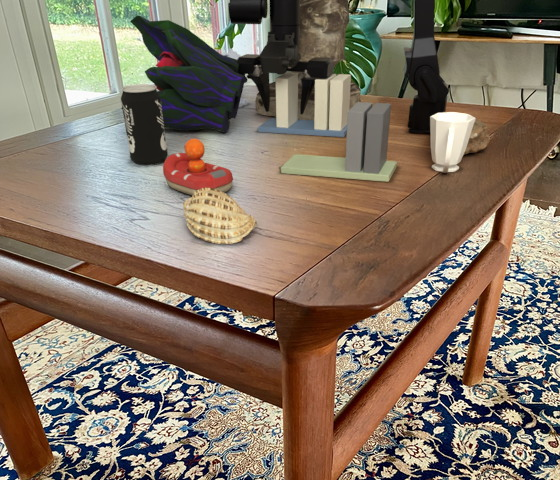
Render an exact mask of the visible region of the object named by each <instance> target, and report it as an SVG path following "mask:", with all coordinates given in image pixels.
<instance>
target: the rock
mask: <svg viewBox="0 0 560 480" xmlns="http://www.w3.org/2000/svg"><path fill="white" fill-rule="evenodd" d="M487 132H488V127H487V124H485V123H484V122H483V121H480V120H479V119H478V118H476V117H475V122H474V125H473V128H472V131H471V134H470V137H469V141H468V144H467V147H466V150H465V152H464V155H467V154H469V153H470V154H471V153H473V154H476V153H478V152H480V151H482V150H485V149H486V148H487V147H488V146H489V144H490V141H491V137H490V135H489V134H488V133H487ZM429 135H431V133H430V134H429Z"/></svg>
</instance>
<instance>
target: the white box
mask: <svg viewBox="0 0 560 480" xmlns="http://www.w3.org/2000/svg"><path fill="white" fill-rule="evenodd" d="M275 81H276V117H275V118H276V124H277V127H281V128H289V127H290V126H291V125H292V124H294V123H295V122H296V121H297V120H298V73H291V71H287V72H286V73H285V74H281V75H278V76H276V77H275Z"/></svg>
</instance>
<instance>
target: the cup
mask: <svg viewBox="0 0 560 480" xmlns="http://www.w3.org/2000/svg"><path fill="white" fill-rule="evenodd" d="M475 118H476V117H475V116H473V115H471V114H469V113H463V112H455V111H445V113H437V114H434V115H432V116H430V133H431V134H430V153H431V154H430V155H431V161H432V162H433V163H434V164H432V165H431V169H433V170H435V171H436V172H441V173H442V174H448V173H454V172H457V171H458V170H459V169H460V166H459V165H458V164H460V163H461V162H462V159H463V157H464V155H465V154H464V152H465V150H466V147H467V144H468V141H469V137H470V134H471V131H472V128H473V125H474V122H475Z"/></svg>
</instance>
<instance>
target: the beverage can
mask: <svg viewBox="0 0 560 480" xmlns="http://www.w3.org/2000/svg"><path fill="white" fill-rule="evenodd" d="M156 88H157V87H156V86H155V84H150V83H149V84H148V83H139V84H130V85H125V86H123V87H122V88H121V91H122V93H121V96H120V103H121V108H122V109H123V110H122V109H121V110H122V116H123V120H124V126H125V127H124V128H125V133H126V139H127V145H128V146H127V147H128V152H129V157H130V160H131V161H133V163H134V164H136V165H139V166H153V165H154V166H155V165H159V164H162V163H164V162H165V160H166V159H167V158H168V157H169V154H168V153H169V152H168V145H167V144H168V143H167V137H166V130H165V129H166V128H165V127H164V121H163V113H162V106H161V98H160V95H159V93H158V92H157V91H158V89H156Z"/></svg>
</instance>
